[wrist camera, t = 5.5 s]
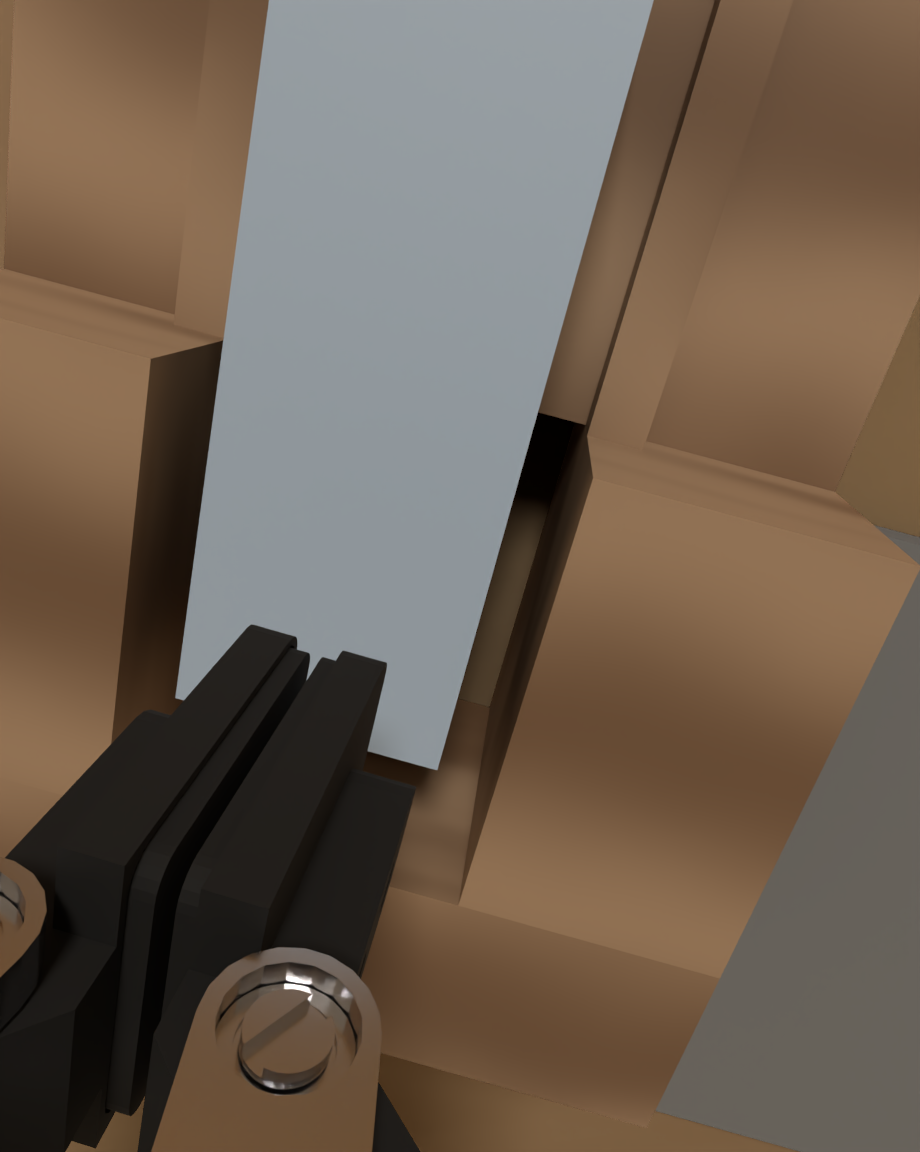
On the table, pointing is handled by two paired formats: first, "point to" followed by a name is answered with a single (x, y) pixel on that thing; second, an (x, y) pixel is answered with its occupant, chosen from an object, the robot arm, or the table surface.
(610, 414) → the jig
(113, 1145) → the table surface
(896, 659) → the mat
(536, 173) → the bar
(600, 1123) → the table surface
